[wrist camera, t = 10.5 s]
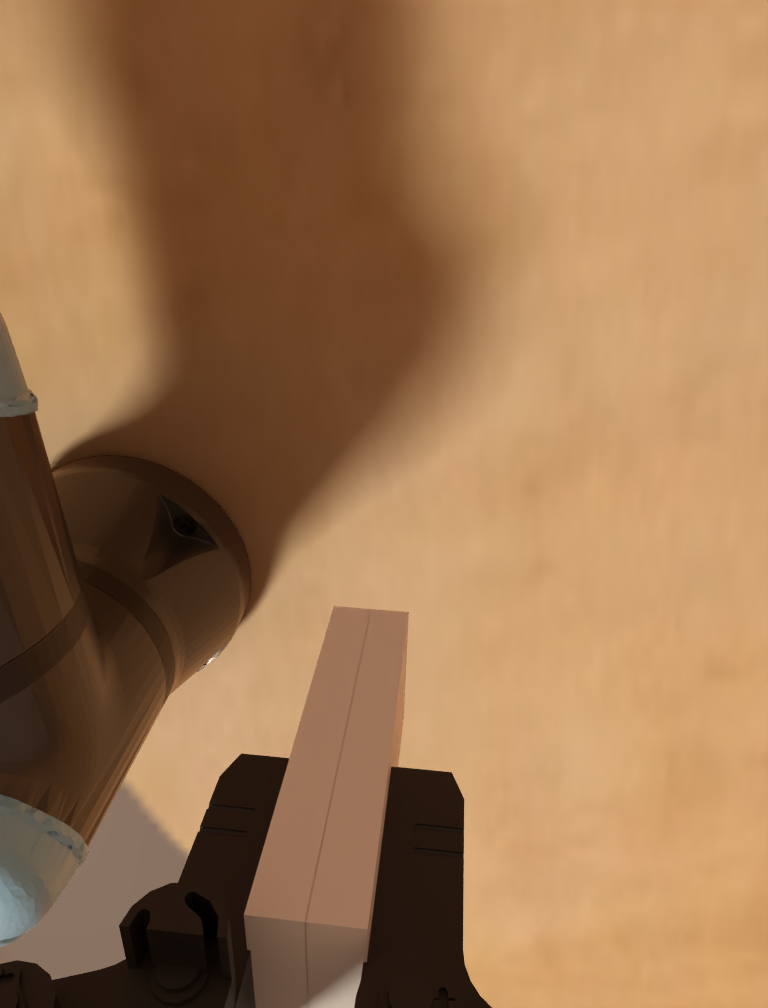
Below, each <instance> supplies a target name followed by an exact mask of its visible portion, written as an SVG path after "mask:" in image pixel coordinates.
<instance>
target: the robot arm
mask: <svg viewBox="0 0 768 1008" xmlns="http://www.w3.org/2000/svg"><path fill="white" fill-rule="evenodd" d="M37 410H38V399H37V397H36V395H35V394H34V393H33V392H32V391H31V390H29V389H28V388H27V385H26V382H25V379H24V376H23V373H22V370H21V367H20V364H19V361H18V358H17V355H16V352H15V349H14V346H13V344H12V341H11V338H10V335H9V332H8V329H7V326H6V323H5V321H4V319H3V317H2V315H1V313H0V947H3V946H5V945H8V944H9V943H11V942H13V941H15V940H17V939H19V938H20V937H21V936H22V935H24V934H25V933H26V932H27V931H29V930H31V929H33V928H34V927H35V926H37V925H38V924H39V923H40V921H42V919H43V918H44V917H45V916H46V914H47V913H48V912H49V910H50V909H51V907H52V906H53V904H54V903H55V901H56V900H57V898H58V897H59V895H60V894H61V892H62V891H63V889H64V888H65V886H66V885H67V883H68V882H69V880H70V879H71V877H72V876H73V874H74V873H75V872H76V870H77V869H78V868H79V867H81V866H82V864H83V863H84V861H85V859H86V857H87V854H88V852H89V851H87V849H88V845H89V844H90V842H91V840H92V838H93V836H94V834H95V832H96V830H97V829H98V827H99V825H100V823H101V821H102V819H103V817H104V816H105V813H106V812H107V810H108V808H109V806H110V804H111V802H112V801H113V799H114V797H115V795H116V793H117V791H118V789H119V787H120V786H121V784H122V782H123V780H124V778H125V776H126V774H127V773H128V771H129V769H130V767H131V765H132V763H133V761H134V759H135V758H136V756H137V754H138V752H139V750H140V748H141V746H142V744H143V743H144V741H145V739H146V737H147V735H148V733H149V731H150V730H151V728H152V726H153V724H154V722H155V720H156V718H157V716H158V714H159V712H160V711H161V709H162V707H163V705H164V703H165V701H166V700H167V698H168V696H169V695H170V694H171V693H172V692H173V691H174V690H176V689H177V688H178V687H179V686H180V685H181V684H183V683H184V682H185V681H186V680H187V679H189V678H190V677H191V676H192V675H193V674H194V673H196V672H198V671H199V670H201V669H202V668H204V667H205V666H206V665H208V664H209V663H210V662H212V661H213V660H214V659H215V658H216V657H217V656H218V655H219V654H220V653H221V652H222V651H223V650H224V649H225V647H226V646H227V645H228V643H229V642H230V641H231V639H232V637H233V635H234V634H235V632H236V629H237V627H238V625H239V623H240V621H241V619H242V617H243V615H244V613H245V610H246V607H247V605H248V601H249V596H250V588H251V574H250V566H249V561H248V557H247V553H246V550H245V547H244V545H243V542H242V540H241V538H240V536H239V534H238V532H237V530H236V528H235V527H234V525H233V523H232V522H231V520H230V519H229V518H228V516H227V515H226V514H225V512H224V511H223V510H222V509H221V508H220V506H219V505H218V504H217V503H216V502H215V501H214V500H213V499H212V498H211V497H210V496H209V495H207V494H206V493H205V492H204V491H203V490H202V489H200V488H199V487H198V486H196V485H195V484H193V483H192V482H191V481H189V480H188V479H186V478H184V477H183V476H181V475H179V474H177V473H175V472H173V471H171V470H169V469H167V468H165V467H162V466H160V465H157V464H154V463H151V462H148V461H144V460H140V459H136V458H130V457H122V456H97V457H89V458H84V459H80V460H77V461H73V462H71V463H68V464H66V465H64V466H62V467H60V468H58V469H56V470H54V471H53V472H52V471H51V467H50V464H49V460H48V457H47V453H46V450H45V446H44V442H43V439H42V435H41V432H40V428H39V425H38V421H37V418H36V414H35V412H36V411H37ZM408 614H409V612H398V611H386V610H374V609H361V608H349V607H336V606H334V607H333V611H332V614H331V618H330V621H329V625H328V628H327V631H326V635H325V638H324V642H323V645H322V649H321V652H320V655H319V659H318V662H317V666H316V669H315V673H314V676H313V679H312V683H311V686H310V690H309V693H308V697H307V700H306V703H305V707H304V710H303V714H302V717H301V721H300V724H299V727H298V731H297V734H296V738H295V741H294V745H293V748H292V751H291V755H290V758H280V757H270V756H260V755H250V754H241V755H240V756H239V757H238V758H237V759H236V760H235V761H234V762H233V763H232V764H231V765H230V766H229V767H228V768H227V769H226V770H225V771H224V772H223V774H222V775H221V776H220V777H219V780H218V782H217V785H216V787H215V790H214V793H213V795H212V798H211V800H210V803H209V808H208V809H207V810H206V813H205V815H204V818H203V821H202V823H201V826H200V831H199V832H198V833H197V836H196V838H195V841H194V843H193V846H192V849H191V851H190V854H189V856H188V859H187V861H186V864H185V867H184V869H183V871H182V874H181V877H180V879H179V882H178V883H170V884H168V885H165V886H163V887H160V888H158V889H155V890H153V891H151V892H149V893H148V894H146V895H145V896H144V897H143V898H142V899H140V900H139V901H138V902H137V903H135V904H134V905H133V906H132V907H131V908H130V910H129V911H128V913H127V915H126V916H125V917H124V919H123V921H122V922H121V923H120V925H119V928H120V932H121V937H122V942H123V947H124V951H125V956H126V959H125V960H123V961H121V962H120V963H118V964H116V965H113V966H110V967H107V968H104V969H101V970H97V971H92V972H88V973H83V974H78V975H74V976H69V977H65V978H60V979H55V980H52V979H51V976H50V974H48V973H47V972H46V971H44V969H42V968H41V967H40V966H39V965H37V964H35V963H29V962H24V961H12V962H7V963H3V964H0V1008H492V1007H491V1006H490V1005H489V1004H488V1003H487V1002H486V1001H485V1000H484V999H483V998H482V997H481V996H480V995H479V993H478V992H477V990H476V989H475V987H474V986H473V984H472V982H471V981H470V978H469V976H468V973H467V970H466V967H465V964H464V955H463V865H464V859H463V854H464V798H463V796H462V794H461V791H460V789H459V787H458V785H457V783H456V781H455V779H454V777H453V774H452V772H442V771H432V770H421V769H411V768H401V767H398V762H399V753H400V744H401V735H402V727H403V718H404V697H405V676H406V656H407V635H408Z"/></svg>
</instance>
